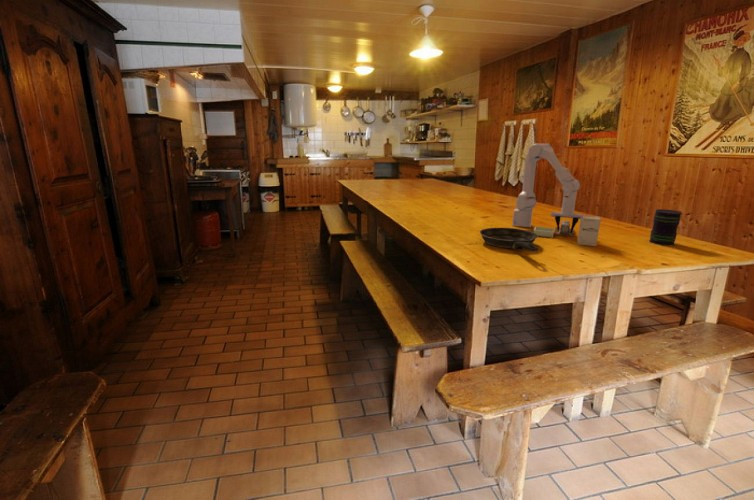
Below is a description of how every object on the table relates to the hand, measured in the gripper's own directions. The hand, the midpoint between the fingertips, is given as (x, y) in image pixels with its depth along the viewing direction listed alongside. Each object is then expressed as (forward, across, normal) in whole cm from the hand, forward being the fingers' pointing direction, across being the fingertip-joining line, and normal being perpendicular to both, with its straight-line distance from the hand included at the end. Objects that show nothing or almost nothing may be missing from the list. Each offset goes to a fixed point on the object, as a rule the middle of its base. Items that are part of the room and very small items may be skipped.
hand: (564, 231), depth 199 cm
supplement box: (+2, +10, -14) cm, 17 cm away
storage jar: (+2, +42, +4) cm, 42 cm away
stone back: (+1, 0, +9) cm, 9 cm away
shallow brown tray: (+1, 0, +4) cm, 5 cm away
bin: (+1, -10, -5) cm, 11 cm away
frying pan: (+2, -20, -37) cm, 42 cm away
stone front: (+1, 0, 0) cm, 1 cm away
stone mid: (+1, 0, +4) cm, 5 cm away
